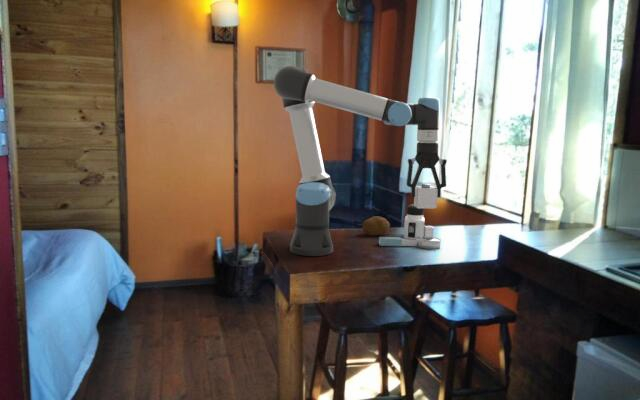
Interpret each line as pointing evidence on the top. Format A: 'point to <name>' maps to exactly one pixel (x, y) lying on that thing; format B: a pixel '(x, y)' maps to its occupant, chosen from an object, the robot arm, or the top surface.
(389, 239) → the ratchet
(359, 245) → the top surface
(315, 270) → the top surface
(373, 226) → the potato
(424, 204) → the cube with chrome knob
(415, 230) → the container
